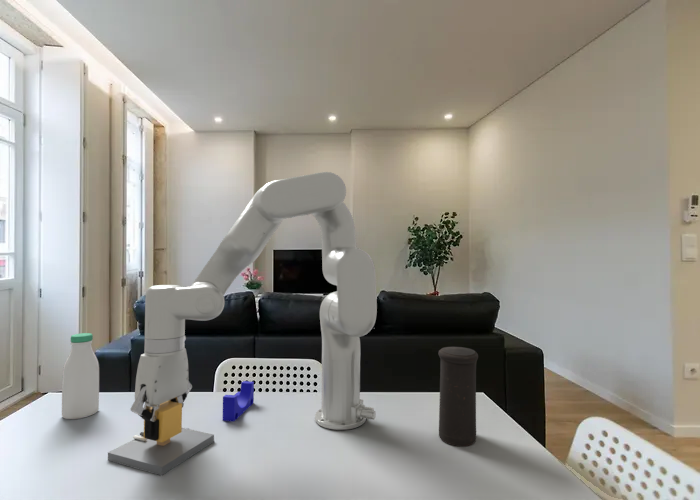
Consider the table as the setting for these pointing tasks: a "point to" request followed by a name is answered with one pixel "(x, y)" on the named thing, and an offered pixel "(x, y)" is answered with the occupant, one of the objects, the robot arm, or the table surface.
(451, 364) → the container
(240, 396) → the blue arch bracket
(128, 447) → the plate
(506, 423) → the table surface
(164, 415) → the mustard yellow cube
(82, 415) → the milk bottle
